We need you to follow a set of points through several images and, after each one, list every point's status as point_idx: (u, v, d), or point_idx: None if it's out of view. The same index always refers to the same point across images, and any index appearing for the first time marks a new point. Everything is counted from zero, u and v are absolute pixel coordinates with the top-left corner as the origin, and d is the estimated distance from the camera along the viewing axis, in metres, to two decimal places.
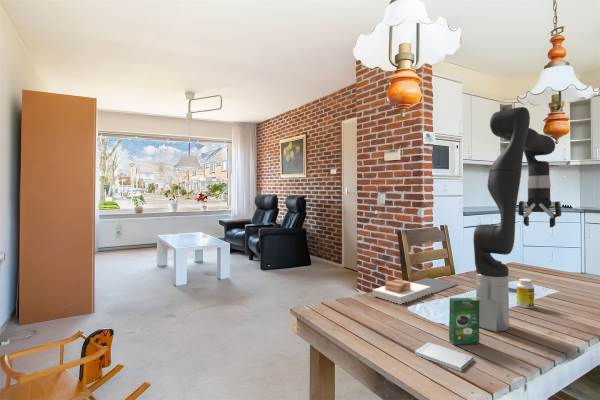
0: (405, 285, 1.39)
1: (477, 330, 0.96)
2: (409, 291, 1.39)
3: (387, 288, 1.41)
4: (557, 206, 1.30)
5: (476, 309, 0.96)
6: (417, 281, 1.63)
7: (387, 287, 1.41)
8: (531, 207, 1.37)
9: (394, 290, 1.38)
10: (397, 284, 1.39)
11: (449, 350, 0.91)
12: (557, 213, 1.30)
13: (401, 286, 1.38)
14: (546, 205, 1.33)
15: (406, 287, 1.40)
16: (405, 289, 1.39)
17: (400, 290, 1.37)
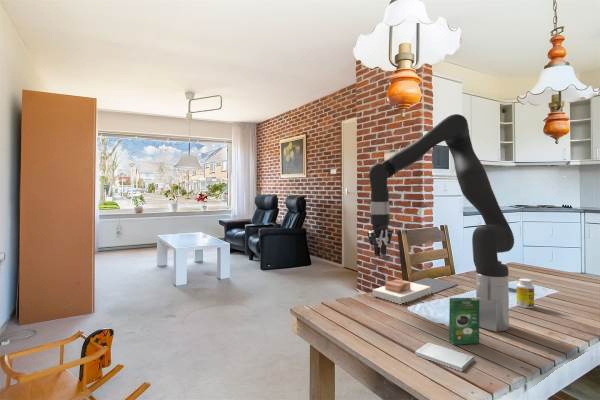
0: (405, 285, 1.39)
1: (477, 330, 0.96)
2: (409, 291, 1.39)
3: (387, 288, 1.41)
4: (391, 234, 1.37)
5: (476, 309, 0.96)
6: (417, 281, 1.63)
7: (387, 287, 1.41)
8: (381, 234, 1.32)
9: (394, 290, 1.38)
10: (397, 284, 1.39)
11: (449, 350, 0.91)
12: (389, 240, 1.36)
13: (401, 286, 1.38)
14: (386, 232, 1.35)
15: (406, 287, 1.40)
16: (405, 289, 1.39)
17: (400, 290, 1.37)
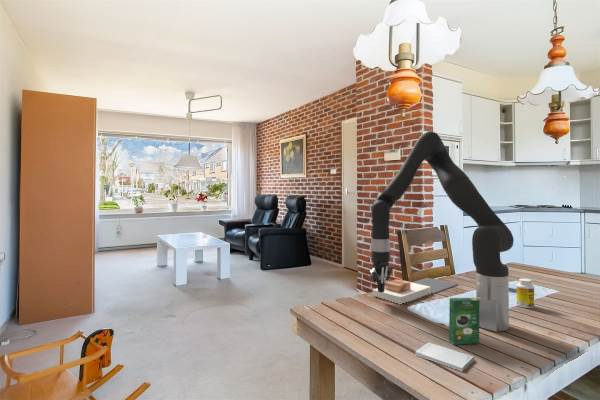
0: (405, 285, 1.39)
1: (477, 330, 0.96)
2: (409, 291, 1.39)
3: (387, 288, 1.41)
4: (390, 272, 1.37)
5: (476, 309, 0.96)
6: (417, 281, 1.63)
7: (387, 287, 1.41)
8: (382, 271, 1.33)
9: (394, 290, 1.38)
10: (397, 284, 1.39)
11: (450, 350, 0.91)
12: (388, 277, 1.36)
13: (401, 286, 1.38)
14: (386, 269, 1.36)
15: (406, 287, 1.40)
16: (405, 289, 1.39)
17: (400, 290, 1.37)
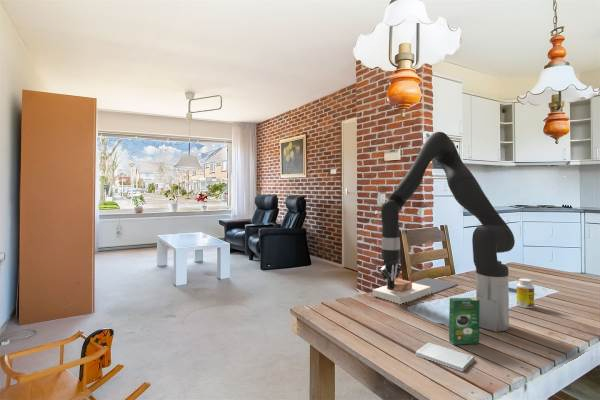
0: (407, 284, 1.40)
1: (477, 330, 0.96)
2: (409, 291, 1.39)
3: None
4: (400, 269, 1.41)
5: (476, 309, 0.96)
6: (417, 281, 1.63)
7: None
8: (392, 269, 1.37)
9: (396, 289, 1.39)
10: (399, 283, 1.40)
11: (450, 350, 0.91)
12: (397, 275, 1.40)
13: (403, 285, 1.39)
14: (396, 267, 1.40)
15: (408, 286, 1.41)
16: (407, 288, 1.40)
17: (402, 289, 1.38)
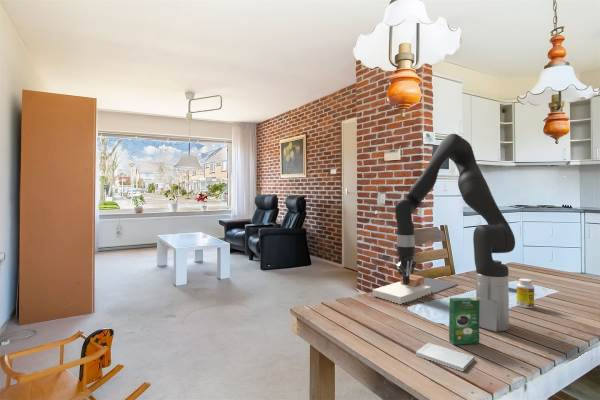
0: (420, 279, 1.48)
1: (477, 330, 0.96)
2: (409, 291, 1.39)
3: None
4: (414, 265, 1.48)
5: (476, 309, 0.96)
6: None
7: None
8: (407, 265, 1.44)
9: (410, 284, 1.46)
10: (412, 278, 1.47)
11: (450, 350, 0.91)
12: (412, 271, 1.47)
13: (417, 280, 1.46)
14: None
15: (421, 281, 1.48)
16: (420, 283, 1.48)
17: (416, 284, 1.45)
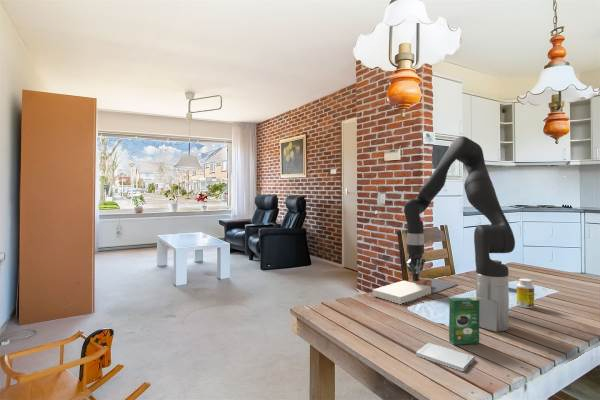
0: (427, 281, 1.52)
1: (477, 330, 0.96)
2: (409, 291, 1.39)
3: (410, 281, 1.54)
4: (423, 263, 1.52)
5: (476, 309, 0.96)
6: None
7: (410, 280, 1.54)
8: (417, 262, 1.48)
9: (417, 283, 1.51)
10: (420, 278, 1.52)
11: (450, 350, 0.91)
12: (421, 268, 1.51)
13: (424, 280, 1.50)
14: (420, 261, 1.51)
15: (428, 283, 1.52)
16: (427, 284, 1.52)
17: (423, 283, 1.50)
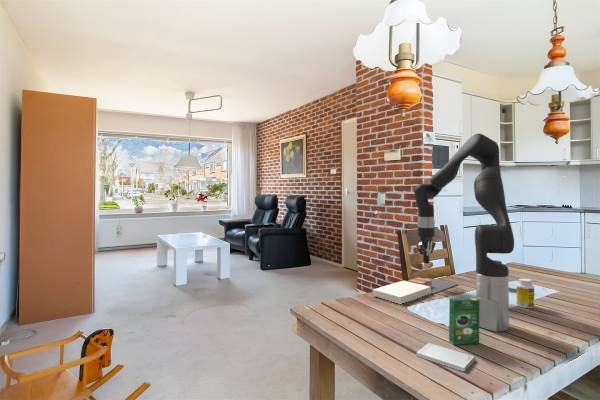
0: (427, 282, 1.52)
1: (477, 330, 0.96)
2: (409, 291, 1.39)
3: None
4: (434, 246, 1.58)
5: (476, 309, 0.96)
6: None
7: None
8: (428, 245, 1.53)
9: None
10: (420, 281, 1.52)
11: (450, 350, 0.91)
12: (432, 251, 1.56)
13: (424, 283, 1.50)
14: None
15: (428, 284, 1.53)
16: None
17: None
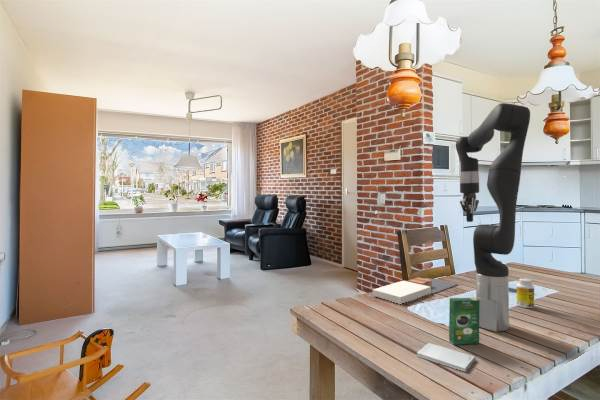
0: (427, 282, 1.52)
1: (477, 330, 0.96)
2: (409, 291, 1.39)
3: None
4: (477, 204, 1.48)
5: (476, 309, 0.96)
6: None
7: None
8: (472, 201, 1.43)
9: None
10: (420, 281, 1.52)
11: (450, 350, 0.91)
12: (475, 208, 1.46)
13: (424, 283, 1.50)
14: None
15: (428, 284, 1.53)
16: None
17: None
